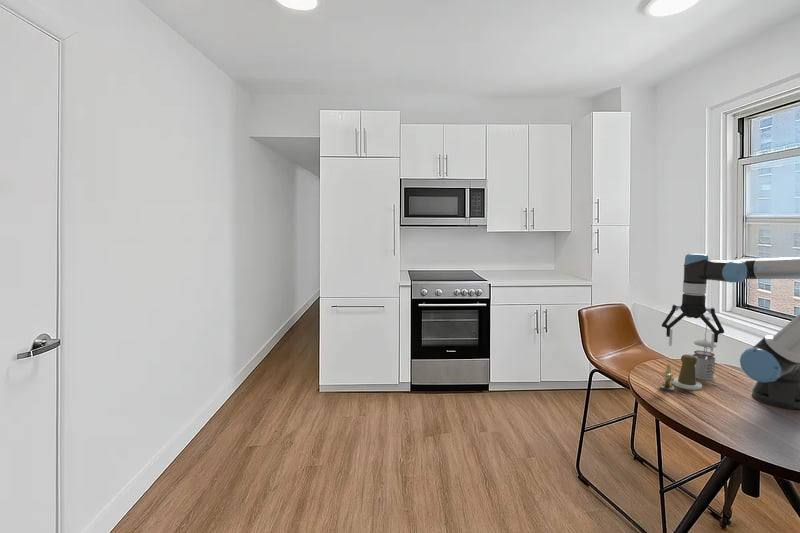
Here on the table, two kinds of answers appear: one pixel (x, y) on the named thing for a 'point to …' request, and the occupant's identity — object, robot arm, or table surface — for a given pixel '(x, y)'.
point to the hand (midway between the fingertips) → (690, 347)
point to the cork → (688, 370)
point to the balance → (667, 379)
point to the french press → (704, 360)
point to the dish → (688, 387)
